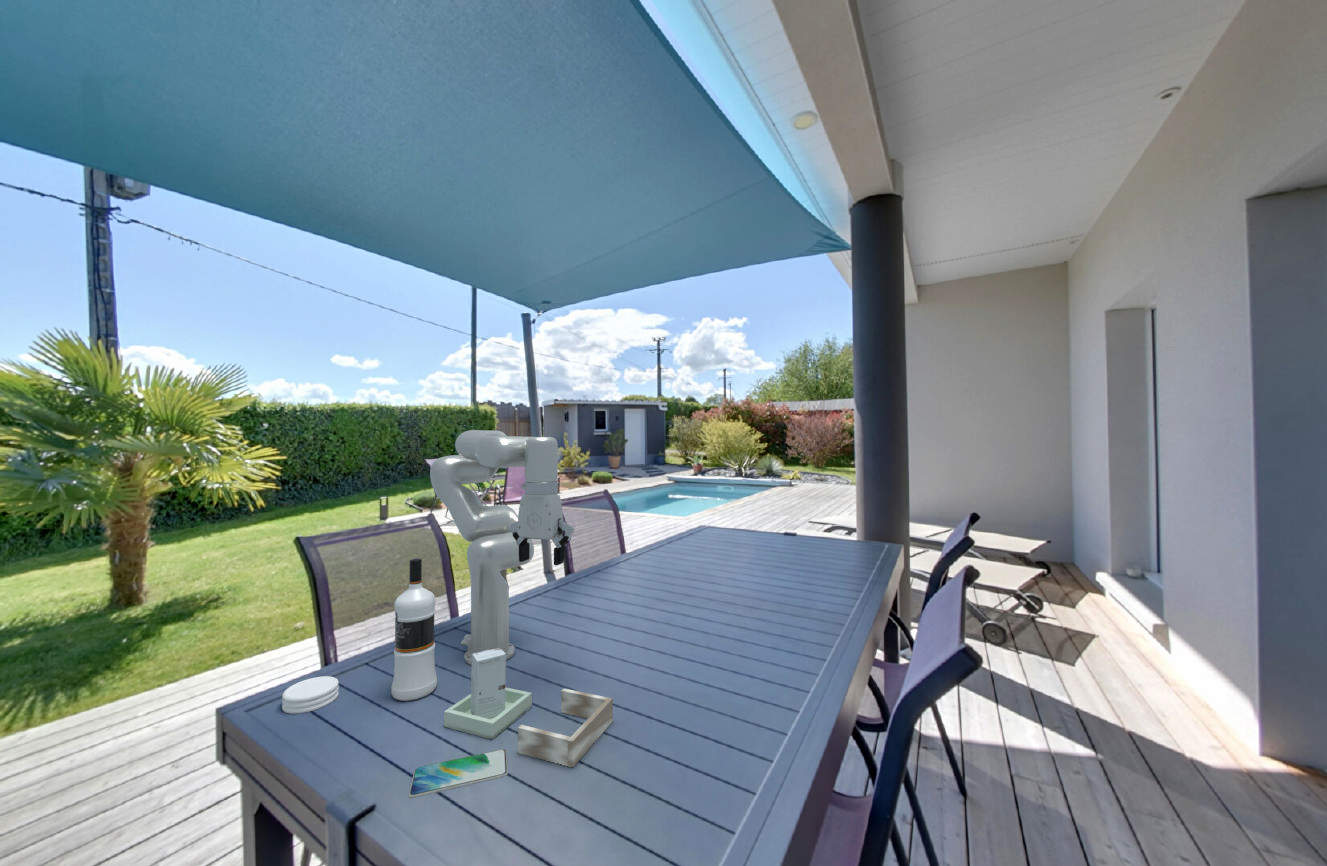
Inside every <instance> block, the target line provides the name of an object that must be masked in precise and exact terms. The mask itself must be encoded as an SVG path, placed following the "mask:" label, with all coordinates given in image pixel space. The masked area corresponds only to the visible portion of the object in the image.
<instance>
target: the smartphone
mask: <svg viewBox="0 0 1327 866" xmlns="http://www.w3.org/2000/svg"><path fill="white" fill-rule="evenodd" d="M507 754H508V753H507V750H506V749H504V748H502V749H501V748H500V749H498V750H492V751H488V752H482V753H477V754H473V755H469V756H463V757H459V758H455V759H451V760H450V759H448V760H445V761H441V762H436V763H432V764H427V765H420V766H418V767H416V768H415V769H414V771H413V774H412V775H413V776H412V779H411V784H410V788H409V793H408V797H409V798H410V799H414V798H419V797H418V796H420V797H423V796H424V797H425V796H427V795H432V794H431V793H433V794H436V793H440V792H445V791H448V790H449V791H450V790H453V789H458V788H463V787H464V786H463V785H467V786H469V785H468V784H472V785H475V783H476V784H480V783H485V782H488V781H492V780H498V779H502V778H505V777H507V776H508V772H509V771H508V757H507V756H508V755H507ZM484 781H485V782H484ZM462 786H463V787H462Z"/></svg>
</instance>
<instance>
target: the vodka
mask: <svg viewBox="0 0 1327 866" xmlns="http://www.w3.org/2000/svg"><path fill="white" fill-rule="evenodd" d="M408 563H409V564H408V567H409V571H408V573H409V578H408V579H409V581H408V582H409V583H408V589H406V590H405V591H404V592H402V593H400V595H399V596H397V598H396V599H395V601H394V604H393V606H394V615H395V616H394V651H393V655H394V669H393V670H394V671H393V680H392V683H391V691H390V692H391V693H390V694H391V696H392V698H393V699H395V700H398V701H401V702H410V701H411V702H412V701H415V700H419V699H422V698H424V697H426V696H428V695H430V694H431V693H432V692H434V690H436V688H437V686H438V675H437V672H436V662H435V652H436V651H435V648H436V643H435V613H436V600H437V599H436V597H435V594H434V593H433V592H432V591H430V590H429V589H427V588H425V587H423V586H422V585H423V584H422V582H423V581H422V580H423V576H422V575H423V573H422V572H423V571H422V568H423V566H422V565H423V559H422V558H418V557H417V558H411V559H409V562H408Z"/></svg>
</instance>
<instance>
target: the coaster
mask: <svg viewBox="0 0 1327 866" xmlns="http://www.w3.org/2000/svg"><path fill="white" fill-rule="evenodd" d="M339 684H340V682H339V680H338V679H337V678H336V677H333V676H329V675H328V676H327V675H325V676H324V675H323V676H316V677H311V678H306V679H305V680H301V681H299V682H296V683H294V684H293V685H290V686H288V688H286V689H285V690H284V691H283V693H282V695H281V699H282V700H281V703H282V705H281V709H282V711H283V712H284V713H287V714H292V715H293V714H294V715H295V714H297V715H298V714H304V713H310V712H313V711H316V710H319V709H321V708H324V707H326V706H328V705H330V704H331V703H332V702H335V700H336V699H337V698H338V697H339V694H340V693H339V692H340V691H339Z"/></svg>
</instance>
